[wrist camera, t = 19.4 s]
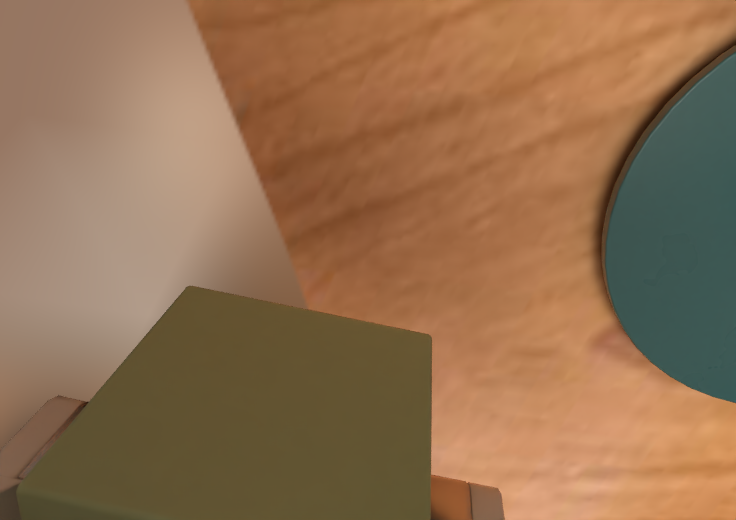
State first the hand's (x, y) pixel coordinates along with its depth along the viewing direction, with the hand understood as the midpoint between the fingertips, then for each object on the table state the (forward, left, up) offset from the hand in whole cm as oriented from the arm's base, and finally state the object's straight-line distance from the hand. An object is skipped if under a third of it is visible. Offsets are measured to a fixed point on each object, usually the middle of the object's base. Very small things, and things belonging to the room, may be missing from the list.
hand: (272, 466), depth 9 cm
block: (0, 0, -2) cm, 2 cm away
